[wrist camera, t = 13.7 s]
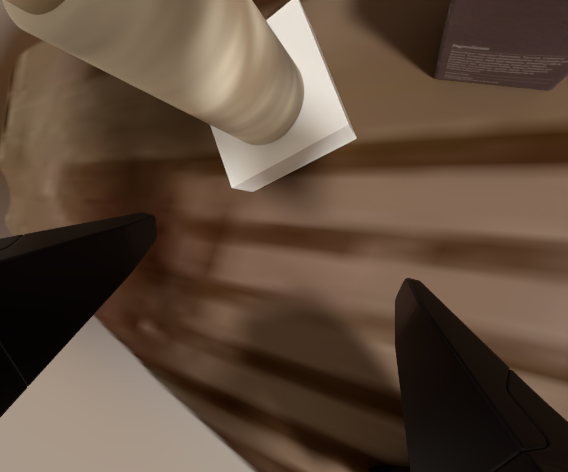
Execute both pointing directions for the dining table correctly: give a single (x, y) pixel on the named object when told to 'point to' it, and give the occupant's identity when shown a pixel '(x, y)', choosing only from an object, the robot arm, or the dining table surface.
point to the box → (505, 43)
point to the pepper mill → (181, 56)
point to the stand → (310, 123)
